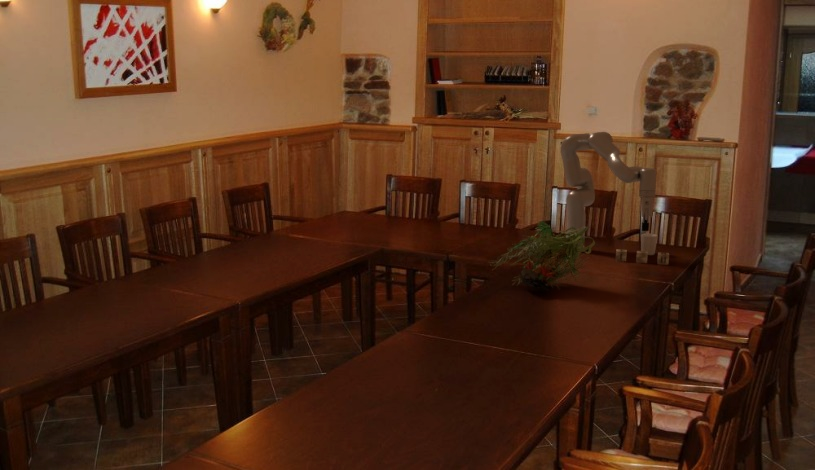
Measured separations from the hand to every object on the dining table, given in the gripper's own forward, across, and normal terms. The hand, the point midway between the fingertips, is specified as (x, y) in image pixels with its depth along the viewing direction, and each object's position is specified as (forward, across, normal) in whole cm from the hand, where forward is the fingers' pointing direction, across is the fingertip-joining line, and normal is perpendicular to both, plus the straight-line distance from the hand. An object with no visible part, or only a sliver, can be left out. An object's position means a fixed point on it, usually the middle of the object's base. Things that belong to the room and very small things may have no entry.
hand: (645, 230), depth 416 cm
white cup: (+16, +20, -2) cm, 26 cm away
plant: (+16, -63, +44) cm, 78 cm away
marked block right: (+16, 0, -9) cm, 18 cm away
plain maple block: (+16, 0, +1) cm, 16 cm away
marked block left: (+16, +1, +11) cm, 19 cm away
